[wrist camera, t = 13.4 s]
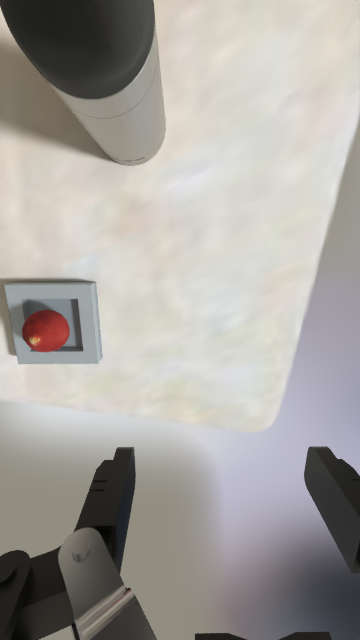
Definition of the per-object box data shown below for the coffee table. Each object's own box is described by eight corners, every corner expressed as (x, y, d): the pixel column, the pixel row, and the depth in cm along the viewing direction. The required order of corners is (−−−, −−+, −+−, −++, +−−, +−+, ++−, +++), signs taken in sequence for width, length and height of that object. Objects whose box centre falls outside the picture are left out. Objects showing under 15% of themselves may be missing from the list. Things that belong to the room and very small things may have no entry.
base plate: (14, 282, 40) (4, 284, 38) (95, 282, 40) (90, 284, 38) (27, 357, 43) (18, 364, 41) (102, 357, 43) (97, 363, 41)
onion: (39, 339, 41) (8, 361, 34) (37, 302, 40) (4, 317, 32) (77, 342, 42) (55, 365, 34) (77, 306, 40) (53, 321, 32)
